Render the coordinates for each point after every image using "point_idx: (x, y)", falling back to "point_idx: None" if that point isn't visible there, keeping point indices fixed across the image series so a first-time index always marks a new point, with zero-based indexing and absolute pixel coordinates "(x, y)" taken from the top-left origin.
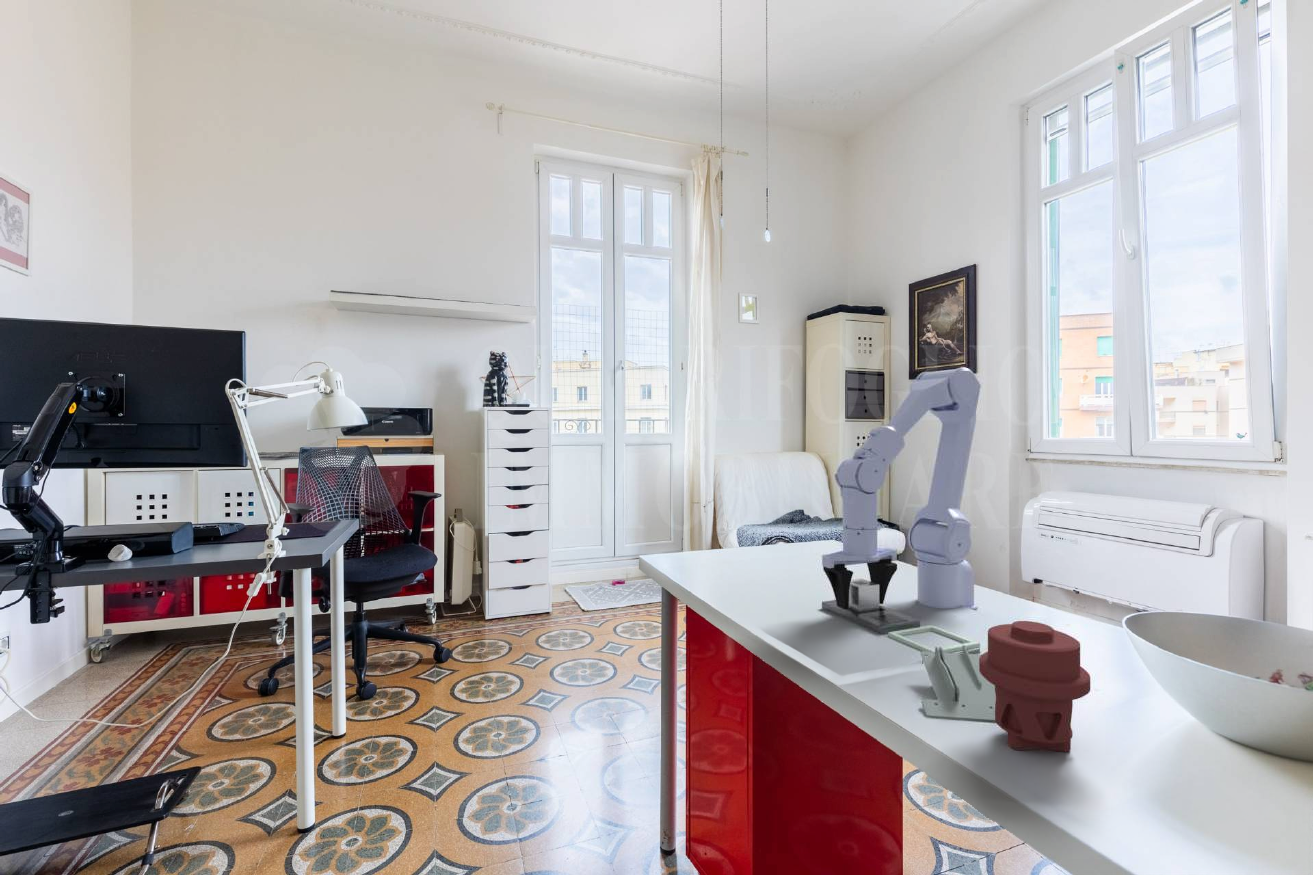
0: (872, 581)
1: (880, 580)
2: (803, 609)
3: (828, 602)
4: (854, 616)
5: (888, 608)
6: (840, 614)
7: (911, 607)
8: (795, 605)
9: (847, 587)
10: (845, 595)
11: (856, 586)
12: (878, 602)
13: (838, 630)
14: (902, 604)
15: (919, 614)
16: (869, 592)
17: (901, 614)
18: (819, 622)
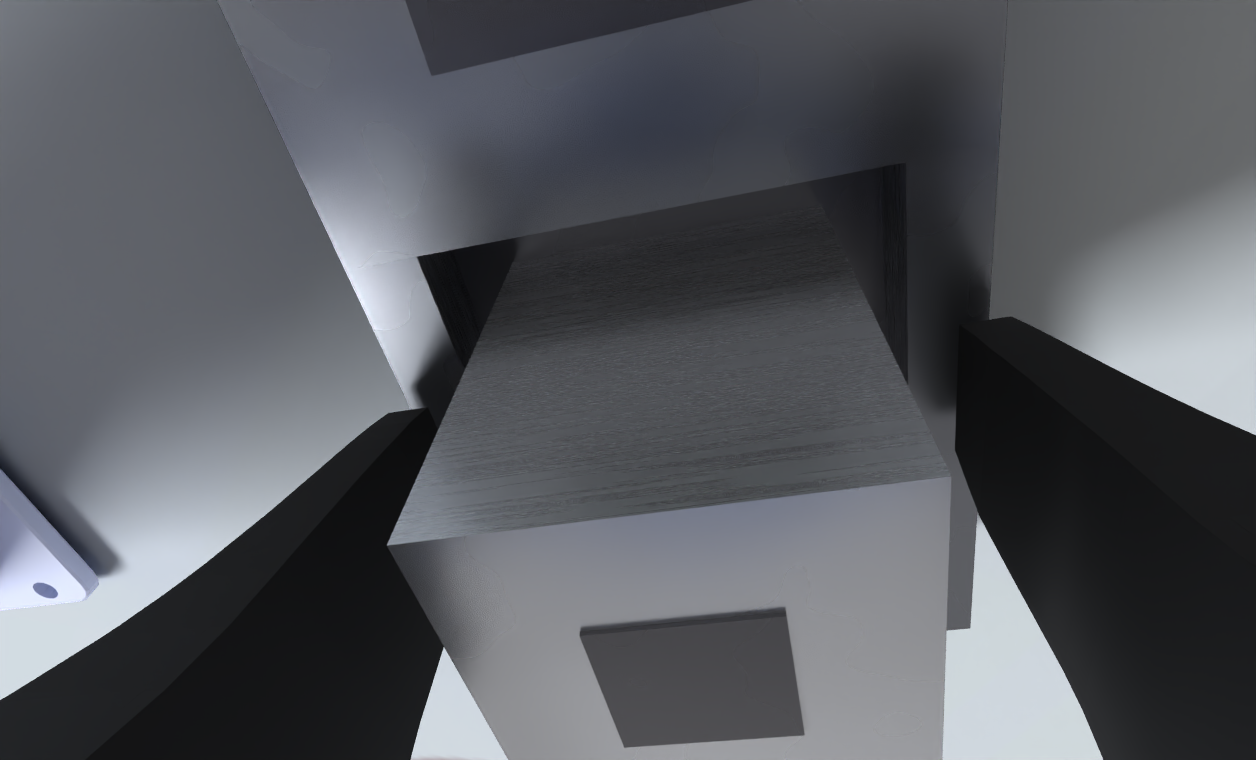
0: (396, 735)
1: (290, 681)
2: (993, 641)
3: None
4: (993, 115)
5: (365, 307)
6: None
7: (82, 521)
8: (982, 711)
9: (1241, 490)
10: (1155, 401)
11: (947, 526)
12: (489, 346)
13: (1176, 54)
14: (143, 586)
15: (40, 359)
16: (641, 425)
17: (270, 7)
18: (1143, 350)
